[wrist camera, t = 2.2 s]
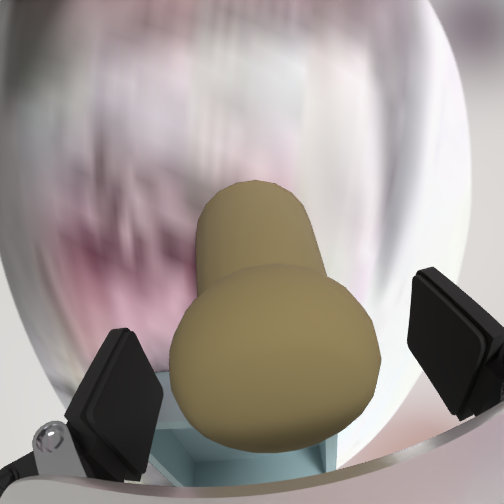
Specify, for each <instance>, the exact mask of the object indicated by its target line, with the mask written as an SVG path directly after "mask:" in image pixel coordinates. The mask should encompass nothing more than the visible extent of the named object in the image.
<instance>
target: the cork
mask: <svg viewBox="0 0 504 504" xmlns="http://www.w3.org/2000/svg"><path fill="white" fill-rule="evenodd" d="M196 273H197V298H196V299H195V300H194V301H193V303H192V304H191V305H190V306H189V308H188V309H187V310H186V312H185V314H184V316H183V318H182V320H181V322H180V324H179V326H178V328H177V330H176V332H175V334H174V336H173V340H172V343H171V347H170V354H169V377H170V385H171V391H172V393H173V395H174V398H175V400H176V402H177V404H178V406H179V408H180V410H181V411H182V413H183V415H184V416H185V418H186V419H187V421H188V423H189V424H190V425H191V426H192V427H194V428H195V429H196V430H197V431H198V432H199V433H201V434H202V435H203V436H204V437H206V438H208V439H210V440H212V441H214V442H216V443H218V444H221V445H223V446H225V447H229V448H232V449H237V450H241V451H246V452H251V453H282V452H289V451H295V450H300V449H303V448H306V447H309V446H312V445H315V444H318V443H321V442H322V441H324V440H326V439H328V438H330V437H332V436H334V435H335V434H337V433H339V432H340V431H342V430H343V429H345V428H346V427H347V426H348V425H350V424H351V423H352V422H353V421H354V420H355V419H356V418H358V417H359V416H360V415H361V414H362V413H363V411H364V410H365V408H366V407H367V405H368V404H369V402H370V401H371V399H372V398H373V396H374V392H375V388H376V384H377V379H378V375H379V370H380V365H381V355H380V350H379V345H378V341H377V337H376V333H375V329H374V326H373V322H372V320H371V318H370V317H369V315H368V314H367V312H366V311H365V309H364V308H363V307H362V306H361V304H360V303H359V302H358V301H357V300H356V299H355V298H354V296H353V295H352V294H351V293H350V292H349V291H348V290H347V289H346V287H344V286H342V285H341V284H339V283H338V282H336V281H335V280H333V279H331V278H329V277H327V274H326V271H325V267H324V264H323V261H322V257H321V254H320V251H319V248H318V244H317V241H316V238H315V235H314V232H313V229H312V225H311V222H310V220H309V218H308V215H307V213H306V210H305V208H304V206H303V205H302V204H301V202H300V201H299V200H298V199H297V198H296V197H295V196H294V195H293V194H292V193H291V192H290V191H288V190H286V189H284V188H282V187H281V186H279V185H277V184H275V183H270V182H264V181H258V180H253V181H246V182H239V183H235V184H233V185H231V186H229V187H227V188H225V189H223V190H221V191H219V192H218V193H217V194H216V195H215V196H214V197H213V198H212V199H211V200H210V201H209V202H208V203H207V204H206V206H205V208H204V210H203V212H202V214H201V216H200V218H199V220H198V224H197V232H196Z"/></svg>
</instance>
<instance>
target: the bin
mask: <svg viewBox="0 0 504 504" xmlns="http://www.w3.org/2000/svg"><path fill="white" fill-rule="evenodd" d="M155 374H156V376H157V378H158V380H159V382H160V384H161V385H162V388H163V392H164V396H163V400H162V404H161V408H160V412H159V416H158V420H157V425H156V429H155V433H154V437H153V442H152V446H151V450H150V455H149V459H148V461H149V462H150V463H151V464H152V465H153V466H154V467H155V468H156V469H157V470H158V471H159V472H160V473H161V474H162V475H163V476H165V477H166V478H167V479H168V480H169V481H170V482H171V483H172V484H173V485H174V486H175V487H220V486H237V485H250V484H260V483H269V482H276V481H283V480H290V479H296V478H301V477H307V476H312V475H317V474H322V473H326V472H331V471H335V470H336V458H337V434H335V435H334V436H332V437H330V438H328V439H326V440H324V441H322V442H321V443H318V444H315V445H312V446H309V447H306V448H303V449H300V450H295V451H289V452H282V453H251V452H246V451H241V450H237V449H232V448H229V447H225V446H223V445H221V444H218V443H216V442H214V441H212V440H210V439H208V438H206V437H204V436H203V435H202V434H201V433H199V432H198V431H197V430H196V429H195V428H194V427H192V426H191V425H190V424H189V423H188V421H187V419H186V418H185V416H184V415H183V413H182V411H181V410H180V408H179V406H178V404H177V402H176V400H175V398H174V395H173V393H172V391H171V385H170V377H169V371H166V372H155Z"/></svg>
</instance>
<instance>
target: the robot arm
mask: <svg viewBox="0 0 504 504" xmlns="http://www.w3.org/2000/svg"><path fill="white" fill-rule="evenodd" d="M407 344H408V347H409V349H410V351H411V352H412V354H413V355H414V357H415V358H416V360H417V361H418V363H419V364H420V366H421V367H422V369H423V370H424V372H425V373H426V375H427V376H428V378H429V379H430V381H431V383H432V384H433V386H434V387H435V389H436V390H437V392H438V393H439V395H440V397H441V398H442V400H443V401H444V403H445V405H446V406H447V408H448V410H449V411H450V412H451V414H452V415H456V416H457V417H458V419H459V421H462V420H464V419H466V418H468V417H470V416H472V415H473V414H474V415H475V417H474V418H473V419H471V420H469V421H467V422H465V423H463V424H461V425H459V426H456V427H454V428H452V429H450V430H448V431H446V432H444V433H442V434H440V435H437V436H436V437H433V438H431V439H428V440H426V441H424V442H421V443H419V444H416V445H414V446H412V447H409V448H407V449H404V450H401V451H398V452H396V453H392V454H390V455H387V456H384V457H381V458H378V459H375V460H371V461H368V462H365V463H361V464H358V465H354V466H350V467H347V468H343V469H339V470H335V471H331V472H326V473H322V474H317V475H312V476H307V477H301V478H296V479H290V480H283V481H276V482H269V483H260V484H250V485H237V486H220V487H171V486H154V485H142V484H131V483H124V479H125V480H130V481H139V482H140V479H141V475H142V474H144V473H145V472H146V469H147V464H148V459H149V455H150V450H151V446H152V442H153V437H154V433H155V429H156V425H157V420H158V416H159V412H160V408H161V404H162V400H163V396H164V392H163V388H162V385H161V384H160V382H159V380H158V378H157V376H156V374H155V372H154V371H153V369H152V367H151V365H150V363H149V361H148V359H147V357H146V355H145V353H144V351H143V349H142V347H141V345H140V343H139V341H138V338H137V336H136V334H135V333H134V332H133V331H130V330H129V329H128V328H119V329H112V330H111V331H110V332H109V334H108V336H107V337H106V339H105V341H104V342H103V344H102V346H101V348H100V349H99V351H98V353H97V355H96V356H95V358H94V360H93V362H92V363H91V365H90V367H89V369H88V371H87V372H86V374H85V376H84V378H83V380H82V382H81V384H80V385H79V387H78V389H77V391H76V393H75V395H74V397H73V399H72V401H71V403H70V405H69V407H68V409H67V411H66V413H65V415H64V416H65V418H66V419H67V420H68V422H67V424H64V423H63V422H60V421H51V422H48V423H46V424H45V425H43V426H41V427H40V429H38V430H37V432H36V433H35V435H34V438H33V441H32V445H33V451H32V452H30V453H29V454H27V455H25V456H23V457H21V458H20V459H18V460H16V461H14V462H12V463H10V464H8V465H7V466H5V467H3V468H2V469H1V470H0V504H504V327H503V326H502V325H500V324H499V323H498V322H497V321H496V320H495V319H494V318H493V317H492V316H491V315H490V314H489V313H487V312H486V311H485V310H484V309H483V308H482V307H481V306H480V305H479V304H477V303H476V302H475V301H474V300H473V299H472V298H471V297H469V296H468V295H467V294H466V293H465V292H464V291H462V290H461V289H460V288H459V287H458V286H457V285H455V284H454V283H453V282H452V281H450V280H449V279H448V278H447V277H446V276H444V275H443V274H442V273H441V272H439V271H438V270H437V269H436V268H434V267H429V268H426V269H422V270H418V271H417V273H416V276H414V277H413V279H412V293H411V306H410V318H409V327H408V336H407Z"/></svg>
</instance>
